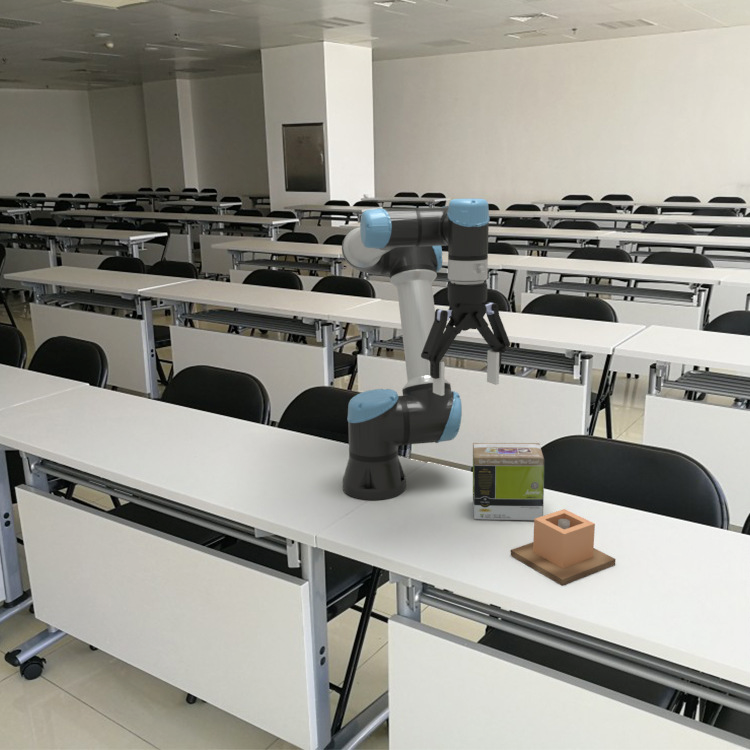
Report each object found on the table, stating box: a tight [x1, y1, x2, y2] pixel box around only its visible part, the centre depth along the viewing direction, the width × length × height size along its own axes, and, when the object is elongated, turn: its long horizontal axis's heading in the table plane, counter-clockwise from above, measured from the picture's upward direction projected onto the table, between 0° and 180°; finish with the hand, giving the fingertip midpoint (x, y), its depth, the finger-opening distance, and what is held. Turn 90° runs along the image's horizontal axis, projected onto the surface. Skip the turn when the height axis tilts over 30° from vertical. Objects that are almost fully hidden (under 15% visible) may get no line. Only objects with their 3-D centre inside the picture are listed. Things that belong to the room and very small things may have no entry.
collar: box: [532, 508, 596, 568], centre depth 154 cm, size 8×8×7 cm
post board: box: [510, 519, 616, 586], centre depth 154 cm, size 14×14×8 cm
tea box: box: [472, 442, 545, 521], centre depth 175 cm, size 15×10×15 cm
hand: (466, 388), depth 158 cm, fingers open, 13 cm apart
